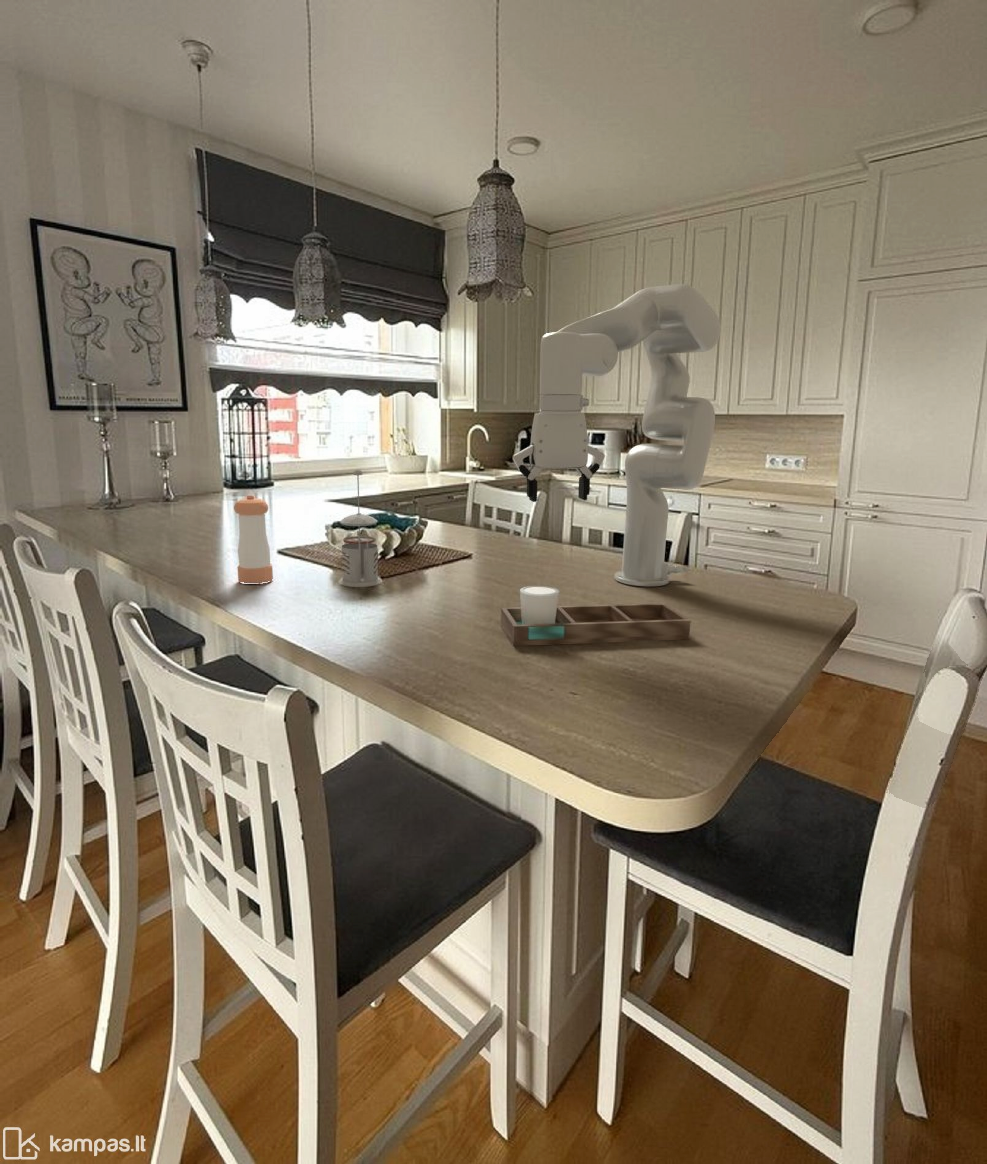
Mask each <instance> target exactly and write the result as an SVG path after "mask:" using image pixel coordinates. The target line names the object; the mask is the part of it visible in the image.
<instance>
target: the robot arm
mask: <svg viewBox="0 0 987 1164" xmlns="http://www.w3.org/2000/svg"><path fill="white" fill-rule="evenodd" d="M720 336H721V323H720V319H719V316H718V314H717V312H716V310H714V308H713V307H712V306H711V304H710V303H709V302H708V301H707V300H706V298H705V297H704V296H703V294H701V293H700V291H699V290H698V289H696V288H695V287H693V286H692V285H689V284H686V283H677V284H676V283H674V284H669V285H657V286H651V287H645V288H643V289H640V290H637V292H635V293H633V294H632V295H630V296H629V297H627V298H626V299H625V300H623V301H622V302H620V303H618V304H617V305H616V306H614V307H613V308H609V309H607V310H605V311H601V312H599V313H596V314H594V315H591V316H588V317H586V318H583V319H580V320H577V321H575V322H572V323H571V324H568V325H565V326H564V327H563V328H561V329H559V330H558V331H555V332H553V331H552V332H549V333H548V332H547V333H546V334H543V335H542V337H541V340H540V347H539V349H540V353H539V355H540V359H539V362H540V363H539V365H540V367H539V407H538V409H539V412H538V413H537V412H536V413H534V416H533V419H532V427H531V433H530V434H531V435H530V444H529V446H527V447H526V448H524V449H521V450H520V451H518V452H517V453H515V454H513V455H512V460H513V462H514V464H515V466H516V467H517V470H518V471H519V472H520V473H521V474H522V475H523V476H524V478H525V479H526V497H527V498H528V499H529V501H530V502H533V503H536V502H537V501H538V481H537V479H536V477H537V476H538V475H539V473H540V472H541V471H542V470H577V471H578V473H580V476H579V478H578V494H577V495H578V498H579V499H580V500H583V501H587V500H588V496H589V495H590V491H591V487H590V485H591V479H592V478H593V476H594V474H595V473H596V472H597V471H598V470H600V466H601V465H602V463H603V461H604V459H605V457H606V455H605V453H604V452H601V451H599V450H598V449H596V448H595V447H593V446H591V445H589V442H588V440H589V439H588V429H587V421H586V414H585V413H584V412H582V411H583V408H584V407H589V404H590V400H589V399H590V398H584V395H582V392H583V388H582V387H583V377H584V378H589V377H591V378H592V377H593V378H594V377H601V376H605V375H607V374H610V372H611V371H612V370H614V368H615V367H616V365H617V362H618V358H619V353H622V352H625V351H628V350H631V349H633V348H634V347H636V346H637V345H638V344H640V343H641V342H642V344H643V347H644V349H645V352H646V356H647V359H648V363H649V366H650V372H651V378H650V385H649V388H648V389H649V390H648V393H647V398H646V403H645V406H644V409H643V414H642V421H641V431H642V433H643V434H644V436H645V437H647V438H649V439H651V440H657V441H669V442H670V441H673V442H674V441H675V442H683V445H679V444H678V445H677V444H676V445H675V444H667V443H665V444H663V443H641V444H637V445H635V446H633V447H632V448H630V449H629V451H628V452H627V454H626V456H625V460H624V473H625V482H626V508H625V518H624V519H625V521H624V522H625V523H624V534H623V546H622V547H623V550H622V559H621V560H622V562H621V563H622V564H621V570H619V571H616V572H615V573H614V579H615V580H616V581H617V582H618V583H621V584H624V585H630V586H636V587H637V586H638V587H662V586H666V585H667V584H669V583H670V577H669V575H671V574H683V572H684V566H683V565H682V564H679V565H678V564H676V565H675V564H673V563H668V562H666V561H665V553H666V542H667V532H668V520H669V503H668V501H667V498H666V495H665V494H664V491H663V490H662V489H670V490H671V489H672V490H683V491H686V490H687V491H688V490H693V489H696V488H697V487H698V486H699V484H700V483H701V482H702V479H703V477H704V472H705V469H706V465H707V461H708V457H709V452H710V448H711V444H712V439H713V435H714V429H715V423H716V413H715V408H714V405H713V404H712V401H710V400H709V399H706V398H705V397H699V396H697V397H696V396H688V392H689V387H690V382H691V376H690V373H689V371H688V369H687V367H686V365H685V363H684V362H683V361H682V360H681V358H680V356H679V355H678V354H688V353H690V354H691V353H705V352H708V351H711V350H712V349H714V348H715V346H716V345H717V344H718V342H719V340H720ZM589 455H591V456H592V457H594V459H593V462H592V463H591V464H590V465H589V466H588V465H587V464H588V457H589ZM527 457H529V463H530V465H531V466H530V467H529V468H528V467H527V466H526V465H525V464H524V459H525V458H527Z"/></svg>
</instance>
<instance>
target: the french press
mask: <svg viewBox="0 0 987 1164" xmlns="http://www.w3.org/2000/svg"><path fill="white" fill-rule="evenodd" d="M353 476H357V477H356V479H357V509H358V510H357V513H355V514H350V515H347V516H346V517H343V519H341V520H340V521H339V522H340V524H341V525H342V526H347V527H358V530H356V531H357V532H356V536H355V535H353V536H346V537H344V538H343V539H342V540H343V542H344V543H345V544H343V545H341V553H342V555H341V559H342V560H341V563H342V566H341V568H342V572H341V573H342V577H341V578H340V579H339V580H338V582H339V583H338V584H339V585H341V586H345V587H351V588H359V587H360V588H363V587H373V586H377V585H379V584H382V583H383V579H382V578H381V577H379V569H378V568H379V564H378V545H377V544H376V543H374V542H376V539H377V538H375V537H373V536H368V532H367V529H366V530H364V534H363V535H361V527H367V526H368V527H369V526H373V525H376V524H377V523H378V520H377V518H374V517H373V516H370V515H368V514H364V513H360V482H359V476H363V472H362V470H360V469H354V471H353ZM346 555H347V556H346ZM345 566H347V567H345Z"/></svg>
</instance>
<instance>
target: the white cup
mask: <svg viewBox="0 0 987 1164" xmlns="http://www.w3.org/2000/svg"><path fill="white" fill-rule="evenodd" d="M559 596H560V590H559V589H557V588H555V587H551V586H546V585H545V586H543V585H529V586H524V587H522V588H520V589H519V597H520V607H521V618H522V625H527V624H555V618H556V611H557V606H558V603H559V598H560V597H559Z"/></svg>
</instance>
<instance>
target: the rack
mask: <svg viewBox="0 0 987 1164" xmlns="http://www.w3.org/2000/svg"><path fill="white" fill-rule="evenodd" d="M500 611H501V612H500V627H501V628H502V630H503V631H504V633H505V635H506V637H507V636H508V637H507V638H508V640H509V641H510V643H511V645H512V644H513V645H512V646H513V647H519V646H546V645H570V644H573V645H574V644H599V643H620V642H621V643H625V642H628V643H629V642H643V641H644V642H645V641H647V642H650V641H651V642H652V641H669V640H670V641H675V640H689V639H690V631H691V619H689V618H687V617H686V616H684V615H683V614H681V613H680V612H679V611H676V610H675V609H674V608H672V607H671V606H669V605H667V604H666V603H664V602H658V603H657V602H656V603H629V604H627V603H625V604H624V603H623V604H595V605H594V604H592V605H591V604H588V605H584V604H583V605H557V611H556V618H555V624H527V625H522V618H521V606H519V607H518V606H517V607H515V606H513V607H501V608H500Z"/></svg>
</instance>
